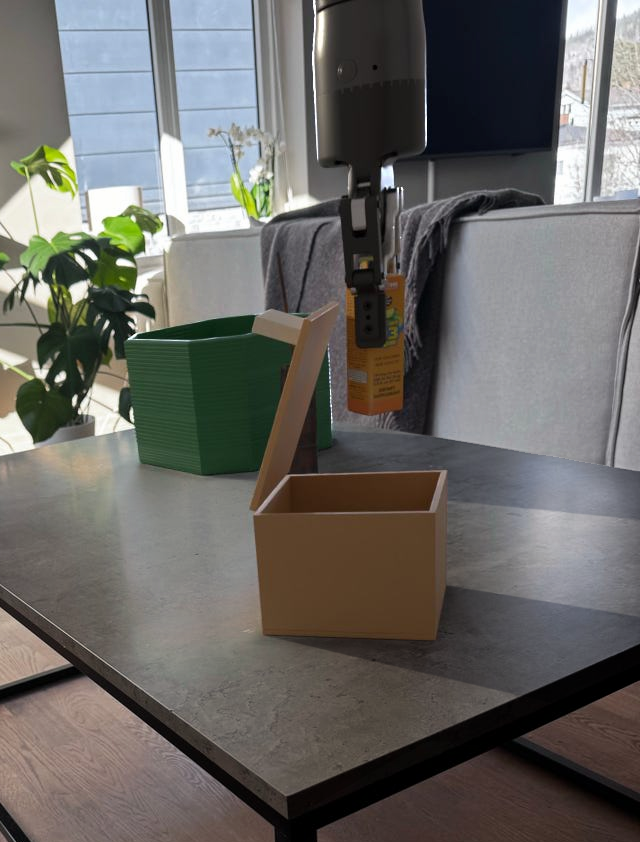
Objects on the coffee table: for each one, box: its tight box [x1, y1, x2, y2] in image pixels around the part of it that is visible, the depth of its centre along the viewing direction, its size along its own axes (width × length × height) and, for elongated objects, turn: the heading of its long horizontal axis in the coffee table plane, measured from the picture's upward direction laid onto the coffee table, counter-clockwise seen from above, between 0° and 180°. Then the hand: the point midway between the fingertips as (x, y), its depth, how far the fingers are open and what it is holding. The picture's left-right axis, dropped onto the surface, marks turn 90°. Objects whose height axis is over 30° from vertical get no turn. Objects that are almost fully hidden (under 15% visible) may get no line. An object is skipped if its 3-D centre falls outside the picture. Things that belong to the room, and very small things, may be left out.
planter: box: [123, 312, 334, 476], centre depth 137 cm, size 26×26×18 cm
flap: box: [248, 300, 341, 513], centre depth 74 cm, size 15×12×5 cm
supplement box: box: [345, 273, 406, 417], centre depth 70 cm, size 3×3×10 cm
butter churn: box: [275, 251, 319, 475], centre depth 114 cm, size 9×10×28 cm
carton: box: [252, 469, 448, 641], centre depth 77 cm, size 14×12×10 cm
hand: (375, 341), depth 70 cm, fingers closed on supplement box, 4 cm apart
